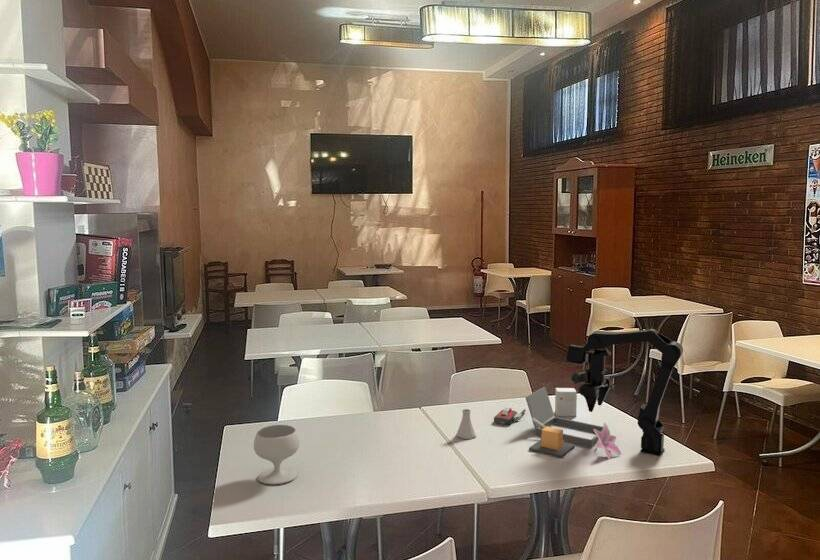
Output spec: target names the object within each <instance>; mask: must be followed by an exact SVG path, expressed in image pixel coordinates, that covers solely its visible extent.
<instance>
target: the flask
mask: <svg viewBox="0 0 820 560" xmlns="http://www.w3.org/2000/svg"><path fill="white" fill-rule="evenodd" d="M471 411H472V410H471V409H469V408H463V409H461V412H462V418H461V421H460V424H459V426H458V429H457V432H456V436H457V438H459V439H462V440H471V439H474V438H476V437H477V436H476V432H475V429H474V426H473V424H472V419H471Z"/></svg>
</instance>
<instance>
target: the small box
mask: <svg viewBox="0 0 820 560" xmlns="http://www.w3.org/2000/svg"><path fill="white" fill-rule="evenodd" d="M554 390H555V392H554V393H555V394H554V398H555V399H554V401H555V402H554V409H555V410H554V412H555V413H554V414H555V415H556V417H577V400H578V397H577V396H578V395H577V393H578V392H577V391H576V389H575V388H574V387H555V389H554Z"/></svg>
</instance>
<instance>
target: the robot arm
mask: <svg viewBox="0 0 820 560" xmlns="http://www.w3.org/2000/svg"><path fill="white" fill-rule="evenodd" d="M647 342H648V343H650V344H651V345H652V346H653V347H654V348H655V349H656V350H657V351H658V352H660V353H661V359H660V360H661V361H660V368H659V371H658V374H657V376H656V379H655V383H654V385H653V387H652V391H651V394H650V396H649V399H648V401H647V404H645V403H642V405H641V406H640V408H639V411H638V414H637V416H636V420H637V425H638V427H639V428H640V429H641V430H642V435H641V438H640V452H642V453H647V454H651V455H656V456H661V455H663V453H664V452H665V450H666V449H665V448H664V446H665V445H664V444H665V443H664V442H665V434H664V433H662V432H663V431H664V429H665V425H664V424H663V423H662V422H661V421H660V420H659V416H660V406H661V403H662V399H663V398H664V394H665V393H666V392H665V391H666V389H667V386H668V383H669V382H670V381H669V380H670V378H671V376H672V373H673V369H674V368H675V366H676V365H677V363H678V362H679V360H680V359H681V357H682V355H683V353H684V348H683V347H684V346H682V344H681V343H680V342H678V341H674V340H673V341H672V340H671V339H670V338H669V337H668V336H665V335H663V334H662V333H660V332H659V331H657V330H656V329H655V328H649V329H643V330H633V331H632V330H631V331H621V332H619V331H618V332H613V331H612V332H611V331H605V330H596V331H594V332H592V333H590V335H589V336H588V337H587V342H586V343H585V344H584V345H583V346H582V345H575V344H570V345H568V350H567V352H566V353H567V354H566V362H567V363H568V364H572V365H573V364H575V365H585V363H587V364H588V365H587V366H588V368H586V369H585V371H582V372H578V371H577V372H573V373H572V374H571V377H570V378H571V381H572V382H573V384H574V385H576V384H579V383H583V384H582V385H580V386H579V387H578V394H580V395H581V396H583V398H584V399H585V402H586V405H587V408H588V412H591V413H592V412H593V411H594V409H595V405H596V404H597V405H598V406H599V407H600V406H602V404H603V403H604V401H605V399H606V397H607V395H608V393H609V391H610V389H611V387H612V386H613V379H612V377H611V376H610V377H609V376H605V373H607V368H606V357H609V356H610V355H612V352H611V351H610V350H609V349H608V348H607V347H610V346H614V345H623V344H635V343H636V344H637V343H647ZM603 348H604V349H603Z"/></svg>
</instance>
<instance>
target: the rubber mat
mask: <svg viewBox="0 0 820 560" xmlns="http://www.w3.org/2000/svg"><path fill="white" fill-rule="evenodd" d="M574 449H576V444H574V443H570V442H565V441H563V446H562V447H561V448H560V449H559V450H555V449H551V448H547V447H542V438H541V439H539V440H538V441H537V442H535V443H533V445H531V446H529V447H528V451H530V452H534V453H537V454H542V455H546V456H550V457H555V458H559V459H563V458H564V457H565V456H566V455H568V454H569V453H570V452H572V451H573V450H574Z"/></svg>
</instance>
